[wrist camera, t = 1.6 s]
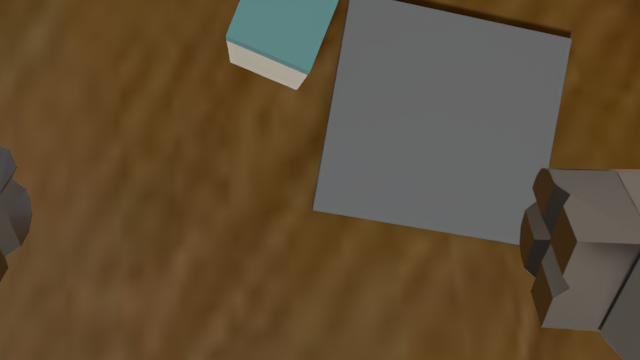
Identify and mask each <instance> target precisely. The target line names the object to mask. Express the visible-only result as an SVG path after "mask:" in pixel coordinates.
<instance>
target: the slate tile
mask: <svg viewBox="0 0 640 360" xmlns="http://www.w3.org/2000/svg"><path fill="white" fill-rule="evenodd" d="M571 40H572V39H570V38H565V37H561V36H556V35H551V34H547V33H542V32H538V31H533V30H528V29H524V28H519V27H515V26H510V25H505V24H501V23H496V22H491V21H487V20H482V19H478V18H473V17H468V16H464V15H459V14H455V13H450V12H445V11H441V10H436V9H431V8H427V7H422V6H418V5H413V4H408V3H404V2H399V1H395V0H349V1H348V6H347V12H346V18H345V23H344V29H343V35H342V40H341V46H340V52H339V58H338V63H337V69H336V75H335V80H334V86H333V92H332V97H331V103H330V109H329V114H328V120H327V126H326V131H325V137H324V143H323V149H322V154H321V160H320V166H319V171H318V177H317V183H316V188H315V194H314V200H313V205H312V210H314V211H320V212H326V213H332V214H338V215H344V216H350V217H356V218H362V219H368V220H374V221H380V222H386V223H392V224H398V225H404V226H410V227H416V228H422V229H428V230H434V231H440V232H446V233H452V234H458V235H464V236H470V237H476V238H482V239H488V240H494V241H500V242H506V243H512V244H518V245H520V243H519V242H520V228H521V223H522V219H523V216H524V212H525V210H526V209H527V208H528V207H529V206H531V205H532V204H533V203H535V202H536V198H535V195H534V192H533V189H532V187H533V184H534V181H535V179H536V176H537V174H538V173H539V171H540V170H541V168H548V167H549V162H550V156H551V151H552V145H553V139H554V134H555V128H556V123H557V117H558V112H559V106H560V101H561V95H562V90H563V84H564V79H565V73H566V68H567V62H568V57H569V51H570V46H571Z"/></svg>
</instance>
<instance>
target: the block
mask: <svg viewBox="0 0 640 360" xmlns="http://www.w3.org/2000/svg"><path fill="white" fill-rule="evenodd" d="M338 1H339V0H240V2H239V5H238V7H237V10H236V12H235V14H234V17H233V19H232V22H231V24H230V27H229V29H228V32H227V34H226V40H227V45H228V51H229V57H230V62H231V63H234V64H236V65H238V66H241V67H243V68H245V69H248V70H250V71H253V72H255V73H257V74H260V75H262V76H264V77H267V78H269V79H272V80H274V81H276V82H279V83H281V84H283V85H286V86H288V87H291V88H293V89H295V90H297V89H298V88H299V86H300V85H301V84H302V82H303V81H304V79H305V78H306V77H307V75H308V74H309V72H310V70H311V68H312V65H313V63H314V60H315V58H316V55H317V53H318V51H319V48H320V46H321V43H322V41H323V38H324V36H325V33H326V31H327V28H328V26H329V23H330V21H331V18H332V16H333V13H334V11H335V8H336V6H337V3H338Z"/></svg>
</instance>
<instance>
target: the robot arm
mask: <svg viewBox="0 0 640 360" xmlns="http://www.w3.org/2000/svg"><path fill="white" fill-rule="evenodd" d="M16 168H17V166H16V164H15V162H14V160H13V158H12V156H11V153H10V151H9V150H7V149H5V148H3V147H1V146H0V281H1V279H2V278H3V276H4V274H5V273H6V271H7V269H8V265H7V261H6V258H5V256H7V255H8V254H10V253H11V252H13V251H14V250H16V249H17V248H19V247H21V245H22V244H23V242H24V240H25V238H26V236H27V235H28V233H29V228H30V223H31V218H32V210H31V202H30V199H29V196H28V193H27V191H26V189H25V188H24V187H23V186H21V185H20V184H19V183H18V182H16V181H15V180H14V179H13V178H12V176H13V174H14V172H15V170H16ZM532 189H533V192H534V195H535V198H536V202H535V203H533V204H532V205H531V206H529V207H528V208H527V209H526V210H525V212H524V216H523V219H522V223H521V228H520V242H519V243H520V251H521V257H522V261H523V265H524V268H525V269H526V270H527V271H528V272H529V273H530V274H531V275H533V276H534V277H535V278H536V279H535V281H534V284H533V287H532V289H531V293H532V297H533V300H534V304H535V307H536V310H537V314H538V317H539V321H540V324H541V327H548V328H561V329H575V330H589V331H600V333H599V334H600V336H601V337H602V338H603V339H604V340H605V341H606V342H607V343H608V344H609V345H610V346H611V347H612V348H613V349H614V350H615V351H616V352H617V354H618V355H619V356H620V357H621V358H622V359H623V360H640V170H635V169H610V170H592V169H563V168H541V170H540V171H539V173H538V174H537V176H536V179H535V181H534V184H533V187H532Z"/></svg>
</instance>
